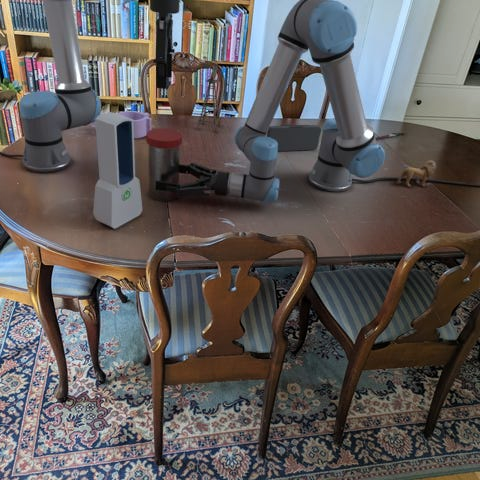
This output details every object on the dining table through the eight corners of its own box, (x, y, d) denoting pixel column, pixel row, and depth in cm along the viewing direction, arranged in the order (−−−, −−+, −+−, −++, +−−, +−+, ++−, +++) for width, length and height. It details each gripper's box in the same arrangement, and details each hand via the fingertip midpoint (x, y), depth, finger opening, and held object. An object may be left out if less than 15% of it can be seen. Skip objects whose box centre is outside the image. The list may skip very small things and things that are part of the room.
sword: (401, 132, 223) (402, 129, 222) (407, 134, 221) (407, 131, 220) (358, 143, 207) (358, 140, 206) (363, 145, 205) (364, 143, 204)
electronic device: (112, 230, 128) (105, 125, 112) (93, 221, 131) (83, 117, 115) (143, 213, 137) (140, 113, 121) (124, 205, 140) (119, 106, 124)
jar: (145, 189, 151) (144, 131, 140) (173, 186, 154) (174, 129, 144) (153, 202, 144) (153, 142, 133) (182, 199, 148) (184, 140, 137)
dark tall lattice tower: (215, 132, 200) (220, 59, 184) (196, 129, 201) (199, 56, 185) (220, 125, 207) (225, 54, 191) (202, 122, 208) (205, 52, 192)
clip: (101, 139, 182) (100, 121, 178) (98, 128, 192) (97, 111, 188) (152, 137, 188) (152, 120, 184) (147, 126, 198) (147, 110, 194)
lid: (142, 137, 141) (142, 129, 140) (175, 134, 145) (175, 127, 144) (152, 150, 134) (151, 142, 132) (186, 147, 138) (186, 139, 137)
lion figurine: (423, 179, 178) (431, 157, 173) (433, 186, 174) (440, 163, 169) (391, 182, 173) (398, 160, 168) (400, 189, 169) (407, 166, 164)
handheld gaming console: (315, 147, 196) (319, 124, 190) (317, 149, 194) (322, 126, 188) (264, 149, 189) (267, 125, 183) (266, 152, 187) (269, 127, 181)
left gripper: (156, -12, 128) (156, 70, 140) (142, -2, 108) (144, 93, 120) (183, -9, 128) (181, 73, 140) (174, 1, 109) (173, 95, 120)
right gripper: (222, 214, 136) (150, 205, 137) (232, 178, 157) (170, 170, 158) (224, 191, 132) (150, 181, 133) (234, 157, 153) (170, 149, 153)
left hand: (164, 82), depth 130 cm, fingers open, 11 cm apart
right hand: (161, 175), depth 145 cm, fingers open, 13 cm apart
